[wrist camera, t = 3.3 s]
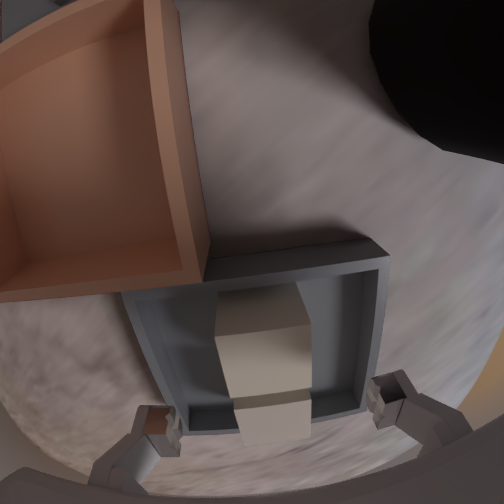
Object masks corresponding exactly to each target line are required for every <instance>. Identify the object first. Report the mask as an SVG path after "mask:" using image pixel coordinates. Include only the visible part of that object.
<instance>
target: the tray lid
mask: <svg viewBox="0 0 504 504" xmlns="http://www.w3.org/2000/svg"><path fill="white" fill-rule="evenodd" d="M75 1H77V0H2V4H1V34H2V42H3V41H5V40H6V39H8V38H9V37H11V36H12V35H14V34H15V33H17V32H19V31H20V30H22V29H24V28H25V27H27V26H29V25H30V24H32V23H34V22H35V21H37V20H39V19H41V18H43V17H45V16H46V15H48V14H50V13H52V12H54V11H56V10H58V9H60V8H62V7H64V6H66V5H69V4H71V3H73V2H75Z"/></svg>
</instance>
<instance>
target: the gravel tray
mask: <svg viewBox="0 0 504 504" xmlns="http://www.w3.org/2000/svg"><path fill="white" fill-rule="evenodd" d="M389 268H390V255H389V254H388V253H387V252H386V251H385V250H384V249H382V248H381V247H380V246H379V245H378V244H377V243H376V242H374V241H373V240H372V239H371V238H366V239H358V240H351V241H343V242H336V243H329V244H321V245H314V246H306V247H299V248H291V249H284V250H276V251H269V252H261V253H254V254H246V255H238V256H231V257H223V258H216V259H208V260H207V261H206V266H205V271H204V276H203V281H202V283H194V284H186V285H177V286H169V287H160V288H151V289H142V290H133V291H124V292H120V294H121V297H122V300H123V302H124V305H125V308H126V311H127V314H128V316H129V319H130V322H131V324H132V327H133V329H134V332H135V334H136V337H137V339H138V342H139V344H140V347H141V349H142V352H143V354H144V356H145V359H146V361H147V363H148V366H149V368H150V370H151V372H152V375H153V377H154V379H155V381H156V383H157V385H158V387H159V390H160V392H161V394H162V396H163V398H164V400H165V402H166V404H167V406H174V407H175V409H176V415H177V416H179V417H180V419H181V422H182V427H183V434H182V435H183V436H190V435H218V434H234V433H240V430H239V426H238V423H237V420H236V416H235V413H234V398H230V395H229V391H228V388H227V384H226V380H225V377H224V373H223V369H222V365H221V361H220V358H219V354H218V350H217V346H216V342H215V338H214V334H215V322H216V311H217V299H218V292H223V291H232V290H239V289H247V288H255V287H262V286H270V285H277V284H284V283H291V282H296V284H297V287H298V289H299V292H300V295H301V297H302V300H303V303H304V305H305V308H306V311H307V313H308V316H309V319H310V321H311V328H312V387H310V388H309V392H310V396H311V423H316V422H321V421H326V420H331V419H336V418H340V417H344V416H349V415H353V414H357V413H361V412H365V411H367V407H368V406H367V403H366V393H367V390H368V389H369V386H368V382H369V379H370V378H373V377H374V375H375V370H376V365H377V360H378V354H379V348H380V342H381V336H382V329H383V322H384V315H385V307H386V299H387V290H388V279H389Z"/></svg>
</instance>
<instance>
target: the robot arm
mask: <svg viewBox="0 0 504 504" xmlns="http://www.w3.org/2000/svg"><path fill="white" fill-rule="evenodd" d="M368 386H369V389H368V390H367V393H366V403H367V406H368V409H369V411H370V412H372V413H374V415H373V421H374V423H375V425H376V428H377V430H378V429H382V428H385V427H389V426H392V425H395V426H397V427H398V428H400V429H401V430H402V431H404V432H405V433H407V434H408V435H409V436H411V437H412V438H414V439H415V440H417V441H418V442H420V443H421V444H423V447H422V449H421V450H420V452H419V454H418V456H417V457H418V458H415V459H413V460H410V461H408V462H405V463H402V464H399V465H397V466H394V467H391V468H388V469H385V470H382V471H379V472H376V473H372V474H369V475H365V476H362V477H359V478H355V479H351V480H347V481H343V482H339V483H334V484H330V485H325V486H321V487H315V488H310V489H305V490H299V491H292V492H285V493H278V494H269V495H259V496H247V497H231V498H230V497H229V498H186V497H168V496H156V495H148V492H147V491H146V490H145V489H144V488H143V487H142V486H141V485H140V483H141V482H142V481H143V479H144V478H145V477H146V476H147V475H148V473H149V472H150V471H151V470H152V469H153V467H154V466H155V465H156V464H157V462H158V461H159V460H160V459H161V457H180V450H181V444H180V442H179V439H180V438H181V437H182V434H183V427H182V422H181V419H180V417H179V416H177V415H176V409H175V407H174V406H157V405H140V406H139V407H138V409H137V412H136V416H135V419H134V423H133V427H132V430H131V434H127V435H125V436H124V437H123V438H122V439H121V440H120V441H119V442H117V443H116V444H115V445H114V446H113V447H112V448H111V449H109V450H108V451H107V452H106V453H105V454H104V455H102V456H101V457H100V458H99V459H98V460H97V461H95V462H94V464H93V468H92V471H91V474H90V477H89V481H88V484H87V485H86V484H82V483H78V482H74V481H71V480H66V479H63V478H60V477H56V476H53V475H50V474H47V473H43V472H40V471H37V470H35V469H32V468H29V467H23V468H20V469H18V470H17V471H15V472H13V473H12V474H10V475H8V476H7V477H5V478H4V479H3V480H2V481H1V482H0V504H504V414H502V415H500V416H499V417H497V418H496V419H494V420H492V421H491V422H489V423H487V424H485V425H484V426H482V427H480V428H479V429H477V430H475V431H473V430H472V428H471V426H470V425H469V423H468V422H467V420H466V419H465V417H464V415H463V414H462V412H460V411H458V410H456V409H453V408H451V407H449V406H447V405H445V404H443V403H441V402H439V401H436V400H434V399H432V398H430V397H428V396H426V395H424V394H422V393H420V394H418V393H417V391H416V389H415V388H414V386H413V385H412V383H411V381H410V380H409V378H408V377H407V375H406V373H405V372H404V370H402V369H401V370H398V371H395V372H391V373H387V374H384V375H380V376H377V377H373V378H370V379H369V382H368Z"/></svg>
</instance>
